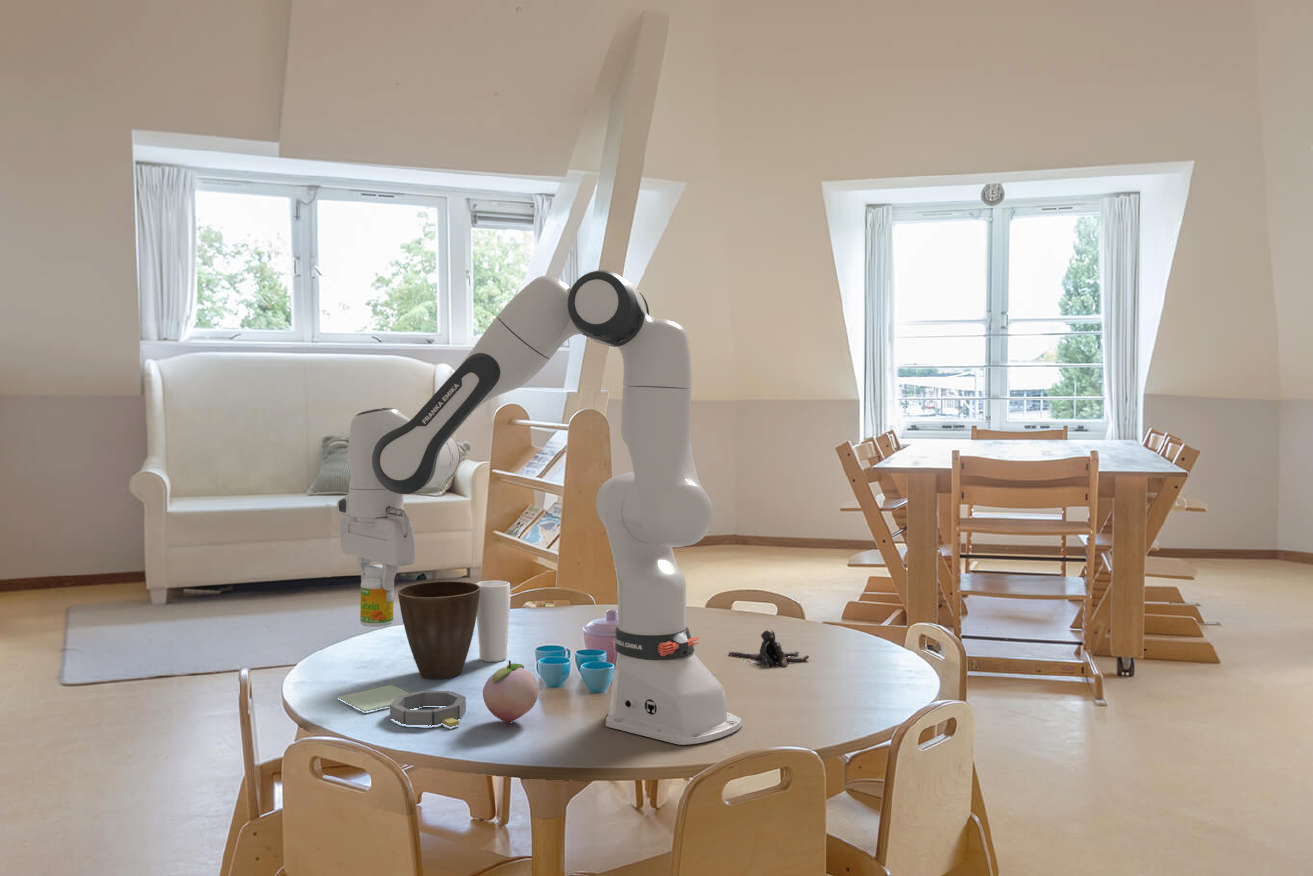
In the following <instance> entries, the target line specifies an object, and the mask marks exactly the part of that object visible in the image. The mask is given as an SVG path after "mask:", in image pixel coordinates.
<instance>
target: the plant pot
mask: <svg viewBox="0 0 1313 876" xmlns="http://www.w3.org/2000/svg"><path fill="white" fill-rule="evenodd" d="M397 595H398V603H399V607H400V613H401V614H400V615H401V619H402V623H403V626H404V631H405V634H406V635H405V636H406V638H407V641H408V644H409V645H408V646H409V648H410V651H411V654H412V657H413V660H414V662H415V664H416V667H417V669H418V672H419V674H420V676H421V678H424V679H427V678H428V680H445V679H444V678H447V679H452V678H456V677H457V676H459V675H460V674H461V673H462V672H463V670H464V669H463V668H464V666H465V663H466V660H467V657H468V654H469V651H470V648H471V643H472V640H473V636H474V631H475V627H476V623H477V611H478V604H479V596H480V586H479V585H477V584H476V583H472V582H467V581H466V582H465V581H453V580H452V581H451V580H450V581H449V580H448V581H446V580H445V581H430V582H421V583H420V582H419V583H416V584H415V583H414V584H410V585H406V586H404V587H402V588H399V589H398V590H397ZM451 677H452V678H451Z"/></svg>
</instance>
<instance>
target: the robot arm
mask: <svg viewBox="0 0 1313 876" xmlns="http://www.w3.org/2000/svg"><path fill="white" fill-rule="evenodd" d="M576 335H583V336H584V337H587V338H589V339H591V340H592V341H593V342H596V343H598V344H601V345H605V346H609V347H614V348H617V349H619V351H620V353H621V356H622V357H621V358H622V360H623V361H622V362H623V379H622V381H623V382H622V401H621V418H620V419H621V420H620V421H621V423H620V424H621V425H620V434H621V438H622V440H623V442H624V443H625V446H626V447H627V449H628V452H629V454H630V460H631V465H632V470H633V471H629V472H625V473H621V474H618V475H614V476H612V477H611V478H609V479H607V480H606V481H604V483H603V484H602V485H601V487H600V488H599V490H598V491H597V495H596V499H595V508H596V509H595V510H596V513H597V516H598V518H599V520H600V521H601V523H602V525H603V526H604V529H605V531H606V535H607V539H608V543H609V547H610V551H611V555H612V559H613V565H614V569H615V574H616V575H615V576H616V585H617V626H616V627H615V635H614V649H615V651H616V652H617V656H616V661H615V665H614V666H615V667H614V670H613V675H612V684H611V691H610V692H611V694H610V703H609V704H610V705H609V708H608V712H607V717H606V718H605V726H606V727H607V728H611V729H615V730H620V731H622V732H628V733H631V734H635V735H639V736H643V737H647V738H651V739H655V740H658V741H664V742H667V743H671V744H676V745H681V746H684V745H686V746H687V745H696V744H702V743H707V742H710V741H714V740H717V739H721V738H723V737H726V736H728V735H731V734H733V733H734V732H737V731H739V729H740V728H741V727H742V726H743V722H742V718H740V717H739V716H737V715H735V714H733V713H731V712H728V709H727V708H728V707H727V698H726V693H725V689H724V686H723V685H722V683H720V681H719V680H718V679H717V678H716V677H715V676H714V675H713V674H712V672H711V671H710V670H709V669H708V668H707V666H705V664H703V662H702V661H701V659H699V658H698V656H697V655H696V654H695V653H694V652H695V647H694V646H696V645H698V644H699V643H700V642H696V641H697V640H699V638H700V637H698V636H696V637H691V636H692V635H691V633H690V630H689V627H688V626H687V581H686V578H685V575H684V573H683V572H682V570H681V568H680V566H679V564H678V563H677V560H676V557H675V554H674V550H673V548H682V547H689V546H692V545H695V544H697V543H699V542H700V541H701V540H702V539H704V537H706V535H707V534H708V532H709V531H710V528H711V526H712V523H713V519H714V517H713V516H714V510H713V509H714V508H713V503H712V501H711V498H710V497H709V495H708V494H707V492H706V491H705V489H704V488H703V486H702V484H701V481H700V479H699V475H698V471H697V467H696V463H695V459H694V454H693V447H692V441H691V415H692V414H691V413H692V412H691V408H692V407H691V406H692V382H693V380H692V379H693V376H692V357H691V350H690V349H691V347H690V342H689V337H688V334H687V331H686V330H685V329H684V327H683V326H681V325H680V324H679V323H677V322H675V321H673V320H670V319H666V318H657V317H653V316H650V310H649V306H648V302H647V300H646V298H645V297H644V295H643V294H642V293H641V292H640V290H638V288H637V286H635V284H633V283H632V282H631V281H630V280H628V279H626V278H625V277H623V276H622V275H619V274H618V273H616V272H613V271H610V270H603V269H600V270H599V269H598V270H594V271H593V270H592V271H590V272H587V273H585V274H583V275H582V276H580V277H578V279H577V280H576V281H575V282H574V284H573V285H572V286H570V285H569V284H568V283H567V282H565V281H564V280H561V279H560V278H557V277H555V276H551V275H542V276H539V277H537V278H535V279H533V280H532V281H531V282H529V283H528V284H527V285H526V286H525V287H524V288H522V289H521V291H519V292H518V293H517V294H516V295H515V296H514V297H513V298H512V299H511V300H510V301H509V302H508V303H507V304H506V305H505V306H504V307H503V309H502V310H501V311H500V312H499V314H498V315H497V316H495V318H494V319H493V320H492V321H491V323H490V324H489V326H488V327H487V329H486V330H485V331H484V333H483V334H482V335H481V337H480V338H479V340H477V342H476V343H475V345H474V347H472V349H471V350H470V352H469V353H468V355H467V356H466V357H465V358H464V359H463V361H461V364H459V366H458V368H457V369H456V370H455V371H454V372H453V373H452V374H451V375H450V377H449V378H448V379H447V380H446V381H445V382H444V383H443V384H442V385H441V386H440V388H439V389H438V390H437V391H435V393H434V394H433V395H432V396H431V398H430V399H429V400H428V401H427V402H426V403H425V404H424V405H423V407H421V409H420V410H419V411H418V412H417V413H416V414H415V415H414V416H413V417H412V418H409V417H407V416H406V415H404V414H403V413H402V412H401V411H400V410H399V409H397V408H394V407H383V408H375V409H369V410H365V411H362V412H359V413H357V414H356V415H355V416H354V417H353V418H352V421H351V423H350V428H349V436H348V453H347V454H348V459H347V460H348V465H349V468H350V469H349V470H350V480H349V482H348V483H349V484H348V493H347V494H346V495H344V496H343V497H341V498H340V499H338V500H337V501H336V502H337V503H336V510H337V513H340V515H339V519H338V527H339V528H338V530H339V543H340V548H341V550H342V553H343V554H345V555H349V556H353V557H356V562H357V566H358V569H359V571H360V572H359V573H360V581H361V582H362V581H363V580H364V579H366V578H367V576H366V575H365V567H366V566H370V565H372V563H373V562H377V563H380V564H381V565H382V569H383V570H384V573H383V578H381V579H380V587H381V588H382V589H384V590H391V589H393V588H395V579H396V578H395V577H396V575H397V573H398V570H399V567H404V566H411V565H413V564H414V562H415V560H416V544H415V533H414V527H413V524H412V521H411V520H410V519H409V517H408V516H407V513H406V511H405V510H404V495H409V494H413V493H416V492H418V491H420V490H422V489H424V488H428V487H431V486H434V485H437V484H440V483H442V482H444V481H447V480H448V479H450V478H451V477H452V476H453V475H454V474H455V473H456V471H457V470H458V467H459V464H460V460H461V459H460V449H459V446H458V444H457V442H456V440H455V439H454V438H453V436H454V434H455V433H456V432H457V431H458V430H459V429H460V428H461V427H462V425H463V424H464V423H465V422H466V421H467V420H468V419H469V418H470V417H471V415H472V414H473V413H474V412H475V411H476V410H477V409H478V408H479V407H481V406H482V405H484V404H485V403H486V402H488V401H490V400H492V399H494V398H496V397H498V396H501V395H503V394H506V393H508V392H511V391H514V390H517V389H518V388H521V387H523V386H524V385H526V384H527V383H528V382H529V381H530V380H532V379H533V378H534V377H536V375H537V374H538V373H540V371H541V370H542V369H543V368H544V367H545V366H546V365H547V364H548V363H549V361H550V360H551V359H552V358H553V356H554V355H555V353H556V352H557V351H558V350H559V348H561V347H562V345H563V344H564V343H565V342H566V341H568V339H570V338H571V337H574V336H576ZM361 582H360V583H361Z"/></svg>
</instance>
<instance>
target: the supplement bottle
mask: <svg viewBox="0 0 1313 876" xmlns="http://www.w3.org/2000/svg"><path fill="white" fill-rule="evenodd" d="M383 573H384V570H383V569H382V564H371V565H370V566H366V567H365V575H366V576H367V578H366V579H364V580H363V581H362V582H360V608H359V609H360V615H359V617H360V619H359V620H360V621H359V622H360V624H361V625H362V626H363V627H369V628H370V627H372V628H373V627H374V628H375V627H376V628H377V627H386V626H389V625H392V624H393V623H394V604H395V603H394V600H395V599H394V598H395V597H394V596H395V595H394V594H395V593H394V591H395V589H394V588H395V587H394V588H393V589H391V590H384V589H382V588H381V587H380V579H381V578H383Z"/></svg>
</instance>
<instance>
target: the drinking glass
mask: <svg viewBox="0 0 1313 876" xmlns="http://www.w3.org/2000/svg"><path fill="white" fill-rule="evenodd" d="M475 584H477V585H479V586H480V596H479V604H478V611H477V617H476V625H477V634H478V635H477V636H478V646H479V649H478V650H479V651H478V652H479V659H480V660H481V661H483V662H486V663H497V662H502V661H504V660H506V659H507V657H508V639H509V627H510V626H509V625H510V613H511V583H510V582H509V581H507V580H498V579H497V580H496V579H494V580H492V579H491V580H482V581H479V582H476V583H475Z"/></svg>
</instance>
